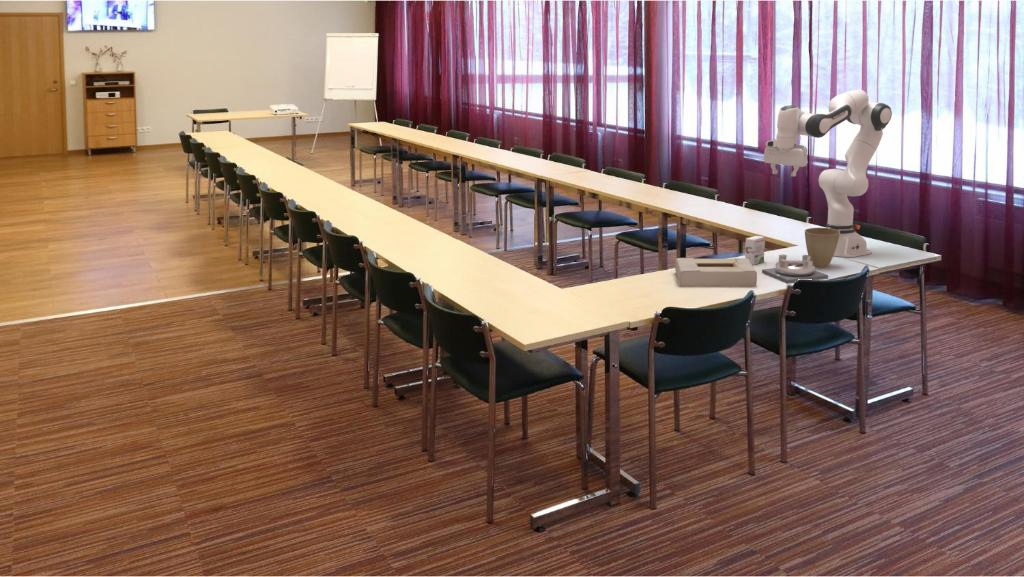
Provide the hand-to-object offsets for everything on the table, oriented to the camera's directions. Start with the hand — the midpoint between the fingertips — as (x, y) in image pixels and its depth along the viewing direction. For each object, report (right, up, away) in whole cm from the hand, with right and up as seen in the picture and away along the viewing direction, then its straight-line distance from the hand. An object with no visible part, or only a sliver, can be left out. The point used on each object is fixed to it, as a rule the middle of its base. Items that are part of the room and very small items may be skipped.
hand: (784, 175), depth 419 cm
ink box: (-9, -38, +14) cm, 42 cm away
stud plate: (+2, -44, -10) cm, 45 cm away
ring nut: (+2, -43, -10) cm, 44 cm away
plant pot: (+18, -40, +6) cm, 44 cm away
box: (-33, -47, -12) cm, 58 cm away
